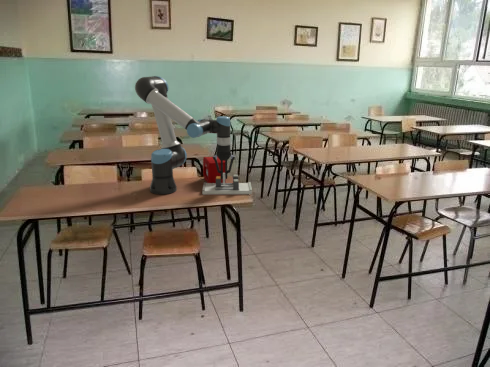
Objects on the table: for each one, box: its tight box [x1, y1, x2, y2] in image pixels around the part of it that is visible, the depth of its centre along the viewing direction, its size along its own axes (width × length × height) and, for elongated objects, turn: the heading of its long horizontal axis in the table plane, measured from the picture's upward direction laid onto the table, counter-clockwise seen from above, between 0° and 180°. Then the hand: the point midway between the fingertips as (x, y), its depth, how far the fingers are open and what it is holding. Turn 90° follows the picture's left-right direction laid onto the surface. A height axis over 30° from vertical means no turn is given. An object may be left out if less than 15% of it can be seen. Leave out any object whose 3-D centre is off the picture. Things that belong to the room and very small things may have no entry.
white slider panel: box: [202, 174, 253, 195], centre depth 233 cm, size 28×15×8 cm, turn 93°
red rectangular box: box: [202, 156, 227, 183], centre depth 249 cm, size 16×11×15 cm
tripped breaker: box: [216, 176, 221, 187], centre depth 233 cm, size 3×3×5 cm
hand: (224, 184), depth 233 cm, fingers closed
